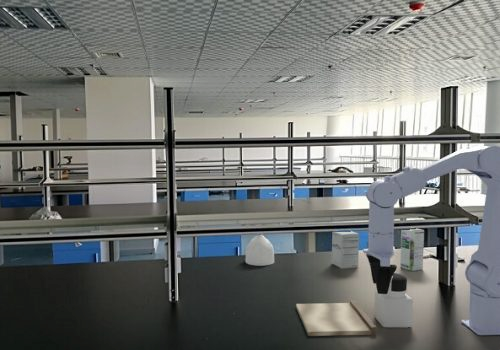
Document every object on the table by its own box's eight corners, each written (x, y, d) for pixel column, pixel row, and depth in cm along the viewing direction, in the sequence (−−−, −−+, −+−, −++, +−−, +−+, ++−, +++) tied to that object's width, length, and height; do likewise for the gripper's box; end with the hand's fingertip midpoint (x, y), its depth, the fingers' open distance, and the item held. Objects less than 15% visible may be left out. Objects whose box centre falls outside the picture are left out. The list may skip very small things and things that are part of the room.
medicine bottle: (400, 316, 113) (402, 271, 112) (412, 328, 106) (414, 279, 105) (373, 316, 113) (375, 270, 112) (383, 327, 105) (385, 279, 105)
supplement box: (331, 263, 163) (331, 230, 163) (348, 262, 166) (349, 229, 165) (340, 269, 156) (341, 234, 156) (359, 267, 159) (359, 233, 158)
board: (354, 306, 120) (354, 300, 120) (376, 334, 102) (376, 327, 102) (296, 307, 119) (296, 301, 119) (308, 336, 101) (308, 328, 101)
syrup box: (399, 267, 159) (400, 228, 158) (411, 265, 161) (412, 226, 160) (411, 271, 153) (412, 230, 152) (423, 269, 156) (424, 229, 155)
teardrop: (239, 261, 167) (239, 230, 166) (261, 256, 174) (261, 227, 174) (258, 267, 159) (258, 235, 158) (280, 262, 166) (280, 231, 165)
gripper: (360, 225, 111) (359, 278, 112) (367, 237, 97) (366, 297, 97) (389, 226, 110) (388, 279, 111) (400, 238, 96) (399, 299, 96)
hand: (379, 288), depth 104 cm, fingers open, 7 cm apart
